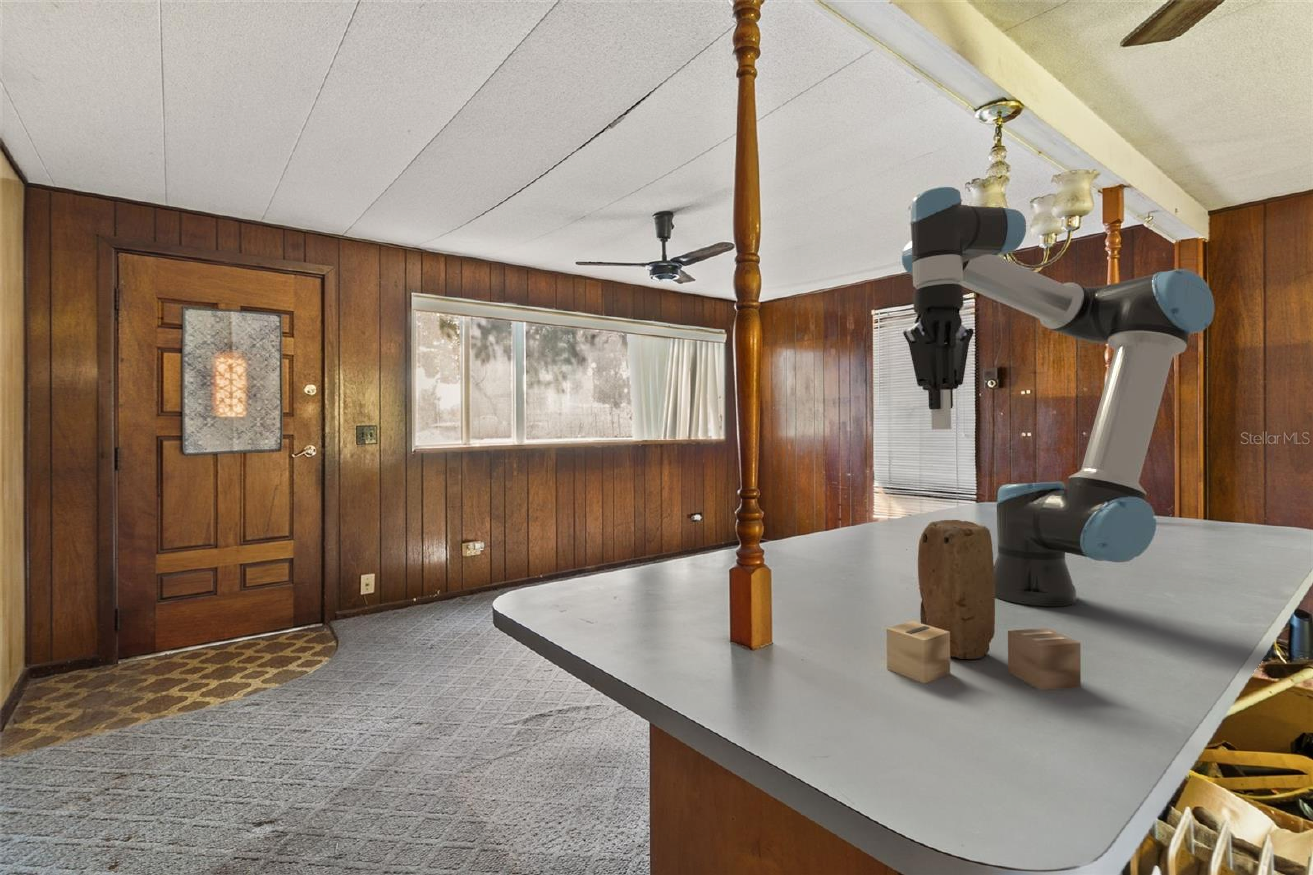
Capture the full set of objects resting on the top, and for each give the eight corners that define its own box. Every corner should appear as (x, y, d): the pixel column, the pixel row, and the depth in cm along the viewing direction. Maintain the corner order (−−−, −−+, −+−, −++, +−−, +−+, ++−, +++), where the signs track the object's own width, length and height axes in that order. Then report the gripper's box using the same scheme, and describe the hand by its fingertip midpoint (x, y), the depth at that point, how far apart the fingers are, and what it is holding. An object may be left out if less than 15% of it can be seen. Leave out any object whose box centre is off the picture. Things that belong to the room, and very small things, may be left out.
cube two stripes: (1046, 669, 88) (1046, 627, 88) (1080, 687, 82) (1080, 642, 82) (1008, 672, 87) (1007, 630, 87) (1039, 690, 81) (1039, 645, 81)
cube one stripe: (912, 660, 92) (912, 620, 92) (950, 673, 87) (949, 631, 87) (887, 669, 89) (886, 627, 89) (924, 684, 84) (923, 639, 84)
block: (1000, 660, 91) (999, 526, 91) (956, 664, 90) (955, 529, 89) (951, 635, 102) (950, 516, 102) (911, 639, 100) (910, 518, 100)
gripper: (950, 293, 107) (953, 427, 108) (889, 290, 103) (894, 430, 103) (986, 283, 100) (990, 427, 101) (923, 279, 96) (927, 430, 96)
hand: (941, 429), depth 102 cm, fingers closed
